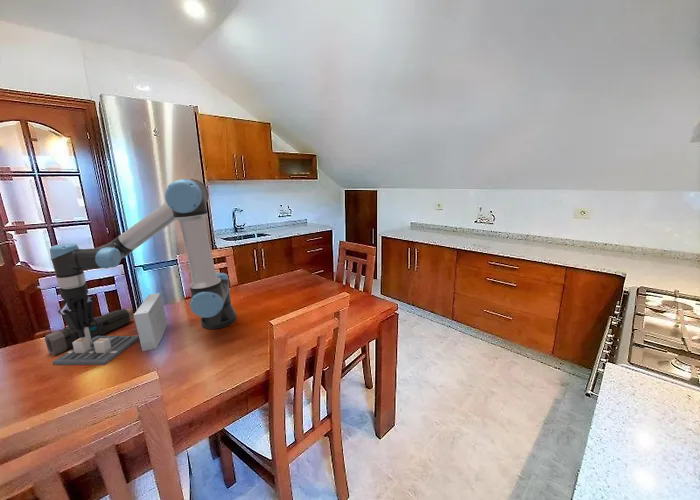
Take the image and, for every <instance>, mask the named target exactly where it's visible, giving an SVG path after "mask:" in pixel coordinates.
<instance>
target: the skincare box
mask: <svg viewBox="0 0 700 500" xmlns="http://www.w3.org/2000/svg"><path fill="white" fill-rule="evenodd" d="M133 317H134V318H133V319H134V321H135V322H134V323H135V325H136V326H135V327H136V330H137V334H138V335H137V336H139V339H138V340H139V342H140V343H139V344H140V346H141V351H142V352H146V351H150V350H151V351H152V350H156V349H158V347H159V344H160V343H161V340H162V338H163V336H164V334H165V331H166V330H167V328H168V325H169V323H168V319H167V315H166V311H165V306H164V301H163V298H162V293H161V292H157V293H151V294H147V296H146V298H145V299H144V300H143V301H142V303H141V304H140V305H139V307H138V308H137V310H136V311H135V313H134V314H133Z"/></svg>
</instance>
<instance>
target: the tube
mask: <svg viewBox="0 0 700 500" xmlns="http://www.w3.org/2000/svg"><path fill="white" fill-rule="evenodd" d="M133 319H134V314H133V310H132V309H131V308H130V307H129V308H126V309H125V308H123V309H117V310H112V311H110V312H108V313H105V314H103V315H100V316H94V321H93V322H91V323H90V324H92V326H89V327H90V331H91V333H90V336H91V338H92V337H94V336H105V334H107V333H109V332H112V331H114V330H117V329H119V328H121V327H123V326H125V325H126V324H128V323H130V321H131V320H133ZM77 339H79V337H78V333H77V330H70V328H69V326H66V327H64V328H63V329H61V330H56V331H54V332H51V333H47V334H46V335H45V336H44V341H45V345H46V348H47V350H48V352H49V355H51V356H57V355H60V354H63V353H64V352H66V351H68V350H70V349H74V348H73V344H72V342H74V341H76V340H77Z"/></svg>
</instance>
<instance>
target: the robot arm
mask: <svg viewBox="0 0 700 500" xmlns="http://www.w3.org/2000/svg"><path fill="white" fill-rule="evenodd" d="M209 196H210V195H209V190H208V188H207V186H206V184H205V183H203V182H201V181H200V180H198V179H193V178H191V179H187V178H180V179H176V180H174V181H173V182H171V183H169V184H168V186H167V187H166V189H165V192H164V200H165V203H163V204H162V205H160V206H158V207H157V208H155V210H153V211H151V213H149V214H147V215H146V216H145V217H143V218H142V219H141V220H139V221H138V222H137V223H135V224H134V225H132V226H131V227H129V228H128V229H127V230H125V231H124V232H122V233H121V234H119V235H118V236H117V237H115V238H114V239H112V240H111V241H110V242H108V243H106V244H103V245H101V246H98V247H94V248H79V246H78V244H77V243H70V242H69V243H67V242H66V243H62V244H61V243H60V244H55V245H53V246H51V247H50V248H49V253H50V254H49V255H50V260H51V262H52V266H53V270H54V273H55V278H56V281H57V287H58V288H59V289H58V290H59V295H60V298H61V299H62V300H63V307H62V308H61V309H59V310H58V311H57V312H58V313H59V314H60V315H61V316H62V317H63V319H64V321H65V323H66V325H67V327H69V328H70V330H77V333H78V337H79V338H89V342H90V343H91V342H92V340H91V336H90V333H91V331H90V327H89V326H92V324H90V323H91V322H93V321H94V317H95V316H94V314H95V313H94V311H95V310H94V308H95V307H94V306H95V305H94V303H95V299H96V297H94V296H89V295H88V294H89V289H88V285H87V284H86V283H87V280H86V275H85V272H84V270H93V269H94V270H95V269H96V270H97V269H106V270H107V269H109V268H117V267H118V266H119V265H120V263H121V261H122V259H124V258H126V257H128V256H129V255H130V254H131V253H132V252H133V251H134V250H136V249H137V248H138V247H140V246H141V245H142V244H144V243H145V242H146V241H148V240H150V239H152V237H154V236H155V235H156V234H158V233H160V232H161V231H162V230H163V229H165V228H166V227H168V226H169V225H170V224H172V223H174V222H175V221H178V222H179V225H180V231H181V234H182V239H183V243H184V248H185V253H186V256H187V262H188V265H189V270H190V274H191V278H192V282H190V284H189V290H190V294H191V299H190V302H189V306H190V307H189V308H190V310H191V312H192V313H193V314H194V315H196V316H199V317H200V318H201V319H200V324H201V327H202V328H203V329H208V330H209V329H210V330H216V329H222V328H225V327H228V326H230V325H232V324H234V323H235V322H236V321H237V319H238V318H237V317H238V316H237V313H236V311H235V309H234V307H233V304H232V300H231V291H230V283H229V276H228V274H227V273H225V272H216V269H215V265H214V260H213V254H212V250H211V245H210V239H209V235H208V234H209V233H208V230H207V225H206V220H205V219H206V217H207V216H208V213H209V212H208V209H207V202H208V200H209V198H210V197H209Z"/></svg>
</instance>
